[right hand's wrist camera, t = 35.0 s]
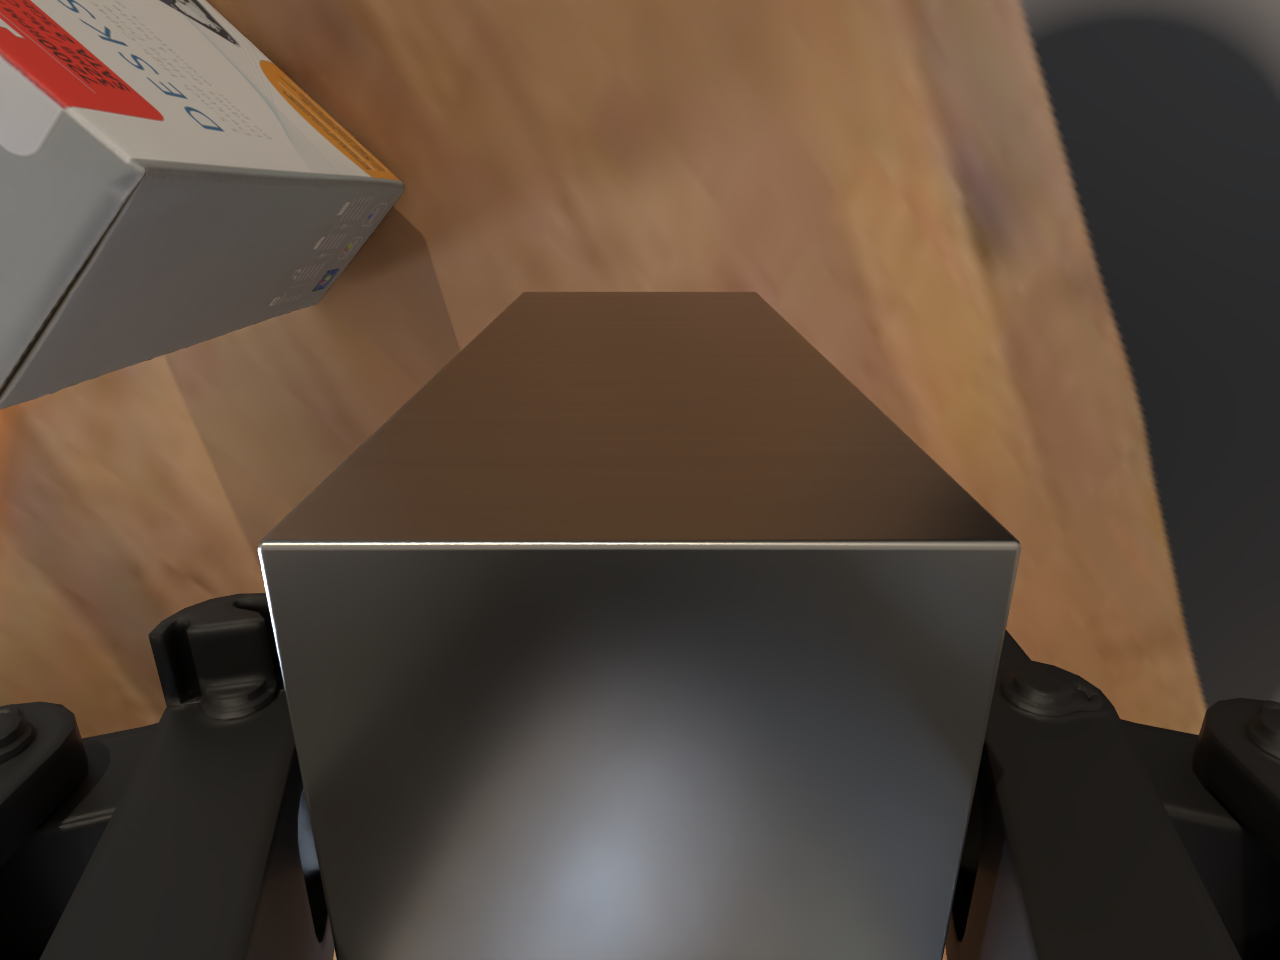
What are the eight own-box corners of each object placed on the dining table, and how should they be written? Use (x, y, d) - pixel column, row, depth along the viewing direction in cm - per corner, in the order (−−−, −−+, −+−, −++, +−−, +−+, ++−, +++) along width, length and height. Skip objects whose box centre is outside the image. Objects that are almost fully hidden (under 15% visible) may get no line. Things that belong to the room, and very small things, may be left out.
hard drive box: (414, 184, 35) (160, 185, 17) (315, 309, 37) (-10, 436, 19) (105, -100, 31) (-672, -511, 13) (14, 57, 33) (-776, -103, 15)
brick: (756, 291, 16) (1026, 542, 5) (741, 599, 19) (893, 1227, 7) (522, 291, 16) (252, 542, 5) (538, 598, 19) (386, 1227, 7)
